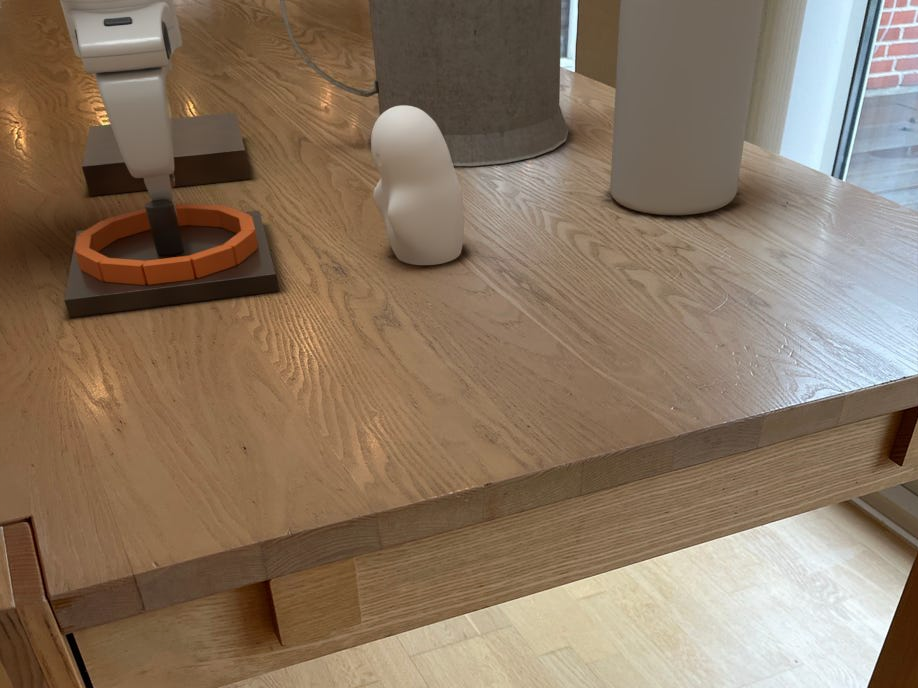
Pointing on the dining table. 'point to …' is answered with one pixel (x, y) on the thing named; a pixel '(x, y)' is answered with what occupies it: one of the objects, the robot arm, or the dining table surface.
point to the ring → (167, 267)
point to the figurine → (417, 187)
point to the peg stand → (170, 242)
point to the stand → (194, 148)
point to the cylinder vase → (682, 102)
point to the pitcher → (470, 72)
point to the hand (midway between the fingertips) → (167, 201)
